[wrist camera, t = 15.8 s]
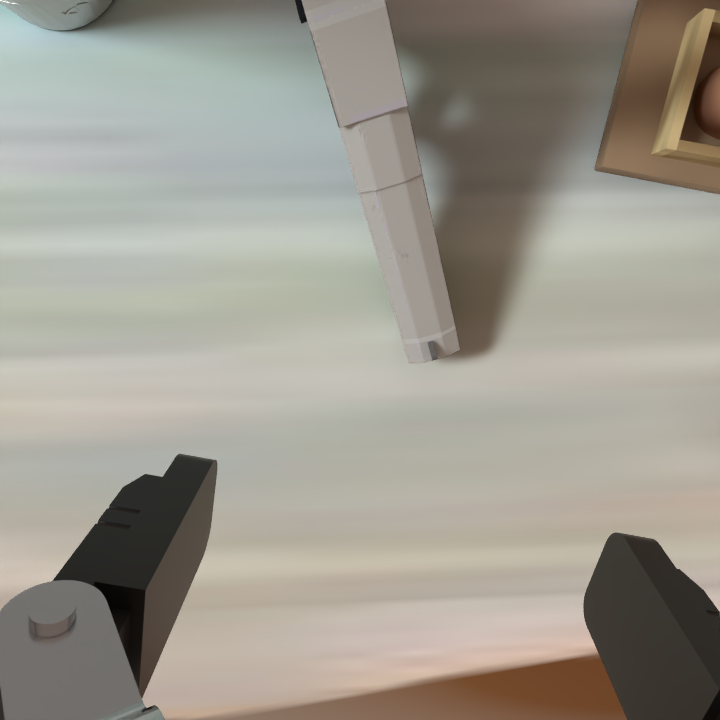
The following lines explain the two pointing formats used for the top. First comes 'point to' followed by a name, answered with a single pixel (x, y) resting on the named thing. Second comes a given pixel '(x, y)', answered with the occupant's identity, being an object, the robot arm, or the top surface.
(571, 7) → the top surface
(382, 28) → the handgun
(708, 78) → the pin
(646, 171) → the wooden compartment tray
